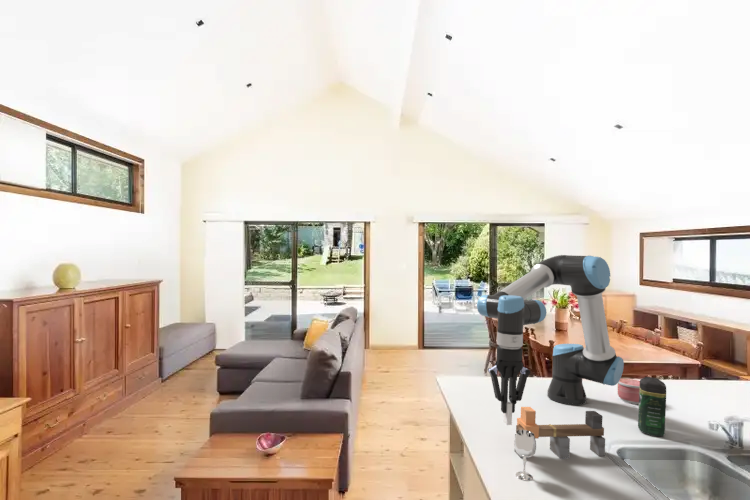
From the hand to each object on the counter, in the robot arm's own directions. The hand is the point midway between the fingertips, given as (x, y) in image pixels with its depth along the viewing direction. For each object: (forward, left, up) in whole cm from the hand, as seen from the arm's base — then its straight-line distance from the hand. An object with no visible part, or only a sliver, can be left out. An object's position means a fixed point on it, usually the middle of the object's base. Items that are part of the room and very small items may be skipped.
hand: (507, 422), depth 129 cm
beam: (0, +17, -10) cm, 20 cm away
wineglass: (+12, 0, -10) cm, 16 cm away
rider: (0, +6, -4) cm, 7 cm away
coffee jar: (-14, +59, -10) cm, 61 cm away
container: (-43, +73, -10) cm, 85 cm away
